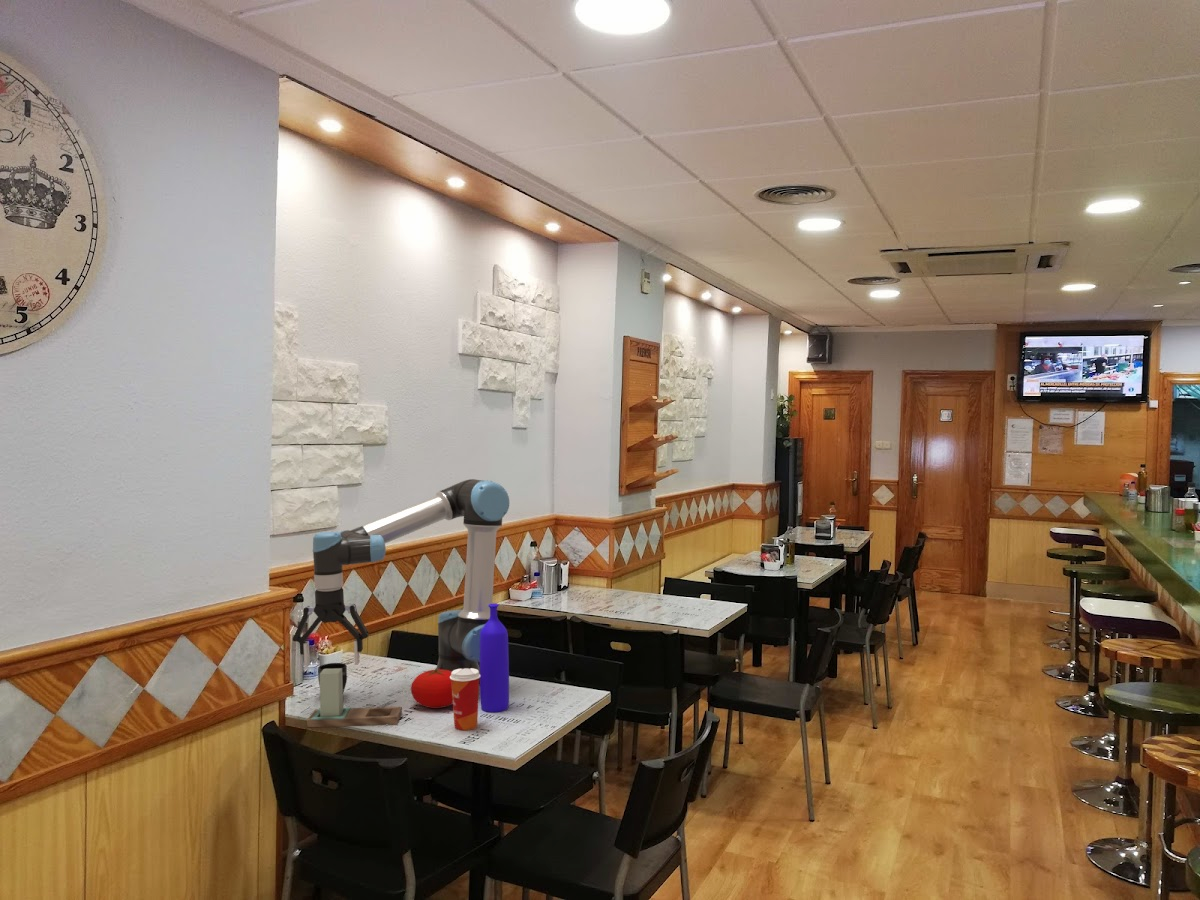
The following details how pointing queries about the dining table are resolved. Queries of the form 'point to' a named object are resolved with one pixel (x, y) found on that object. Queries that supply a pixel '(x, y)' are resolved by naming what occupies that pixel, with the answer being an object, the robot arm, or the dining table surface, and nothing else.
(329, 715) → the block
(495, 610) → the bottle
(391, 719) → the wooden board
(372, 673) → the dining table surface
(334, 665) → the mug
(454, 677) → the coffee cup
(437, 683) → the tomato
